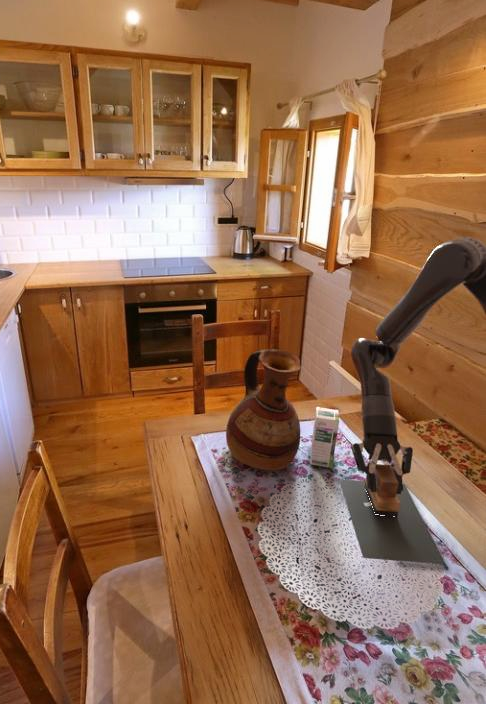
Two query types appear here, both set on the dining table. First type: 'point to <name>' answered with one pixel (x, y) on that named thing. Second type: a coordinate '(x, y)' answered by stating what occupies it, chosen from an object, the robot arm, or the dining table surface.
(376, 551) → the slate board
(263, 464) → the ceramic pitcher
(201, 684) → the dining table surface
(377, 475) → the eraser
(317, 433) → the syrup box
